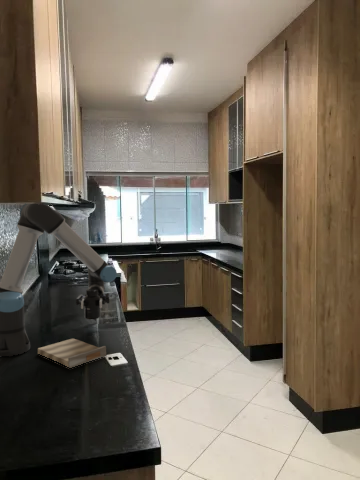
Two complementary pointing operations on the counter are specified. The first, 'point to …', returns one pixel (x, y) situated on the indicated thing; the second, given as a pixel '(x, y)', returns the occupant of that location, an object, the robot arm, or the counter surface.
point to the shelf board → (72, 352)
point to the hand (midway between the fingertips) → (91, 305)
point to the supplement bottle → (92, 304)
